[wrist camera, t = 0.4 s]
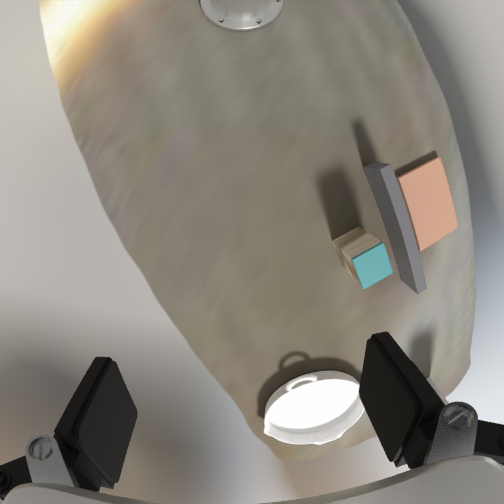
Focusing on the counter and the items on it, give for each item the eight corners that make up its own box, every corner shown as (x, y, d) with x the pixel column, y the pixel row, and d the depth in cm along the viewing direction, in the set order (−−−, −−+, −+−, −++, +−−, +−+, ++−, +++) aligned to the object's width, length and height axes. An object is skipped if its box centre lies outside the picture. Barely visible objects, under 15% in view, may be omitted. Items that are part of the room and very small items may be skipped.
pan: (281, 446, 63) (283, 458, 59) (237, 385, 55) (237, 398, 51) (372, 413, 61) (377, 423, 57) (353, 340, 53) (360, 352, 49)
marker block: (332, 240, 46) (352, 259, 37) (358, 226, 45) (383, 242, 37) (342, 266, 47) (363, 289, 39) (368, 252, 47) (392, 272, 38)
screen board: (362, 167, 42) (379, 169, 37) (372, 162, 42) (390, 164, 36) (401, 280, 49) (417, 294, 43) (409, 274, 49) (426, 288, 43)
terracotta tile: (395, 177, 43) (398, 178, 42) (436, 156, 42) (439, 157, 41) (417, 249, 47) (420, 251, 46) (454, 225, 46) (457, 227, 45)
